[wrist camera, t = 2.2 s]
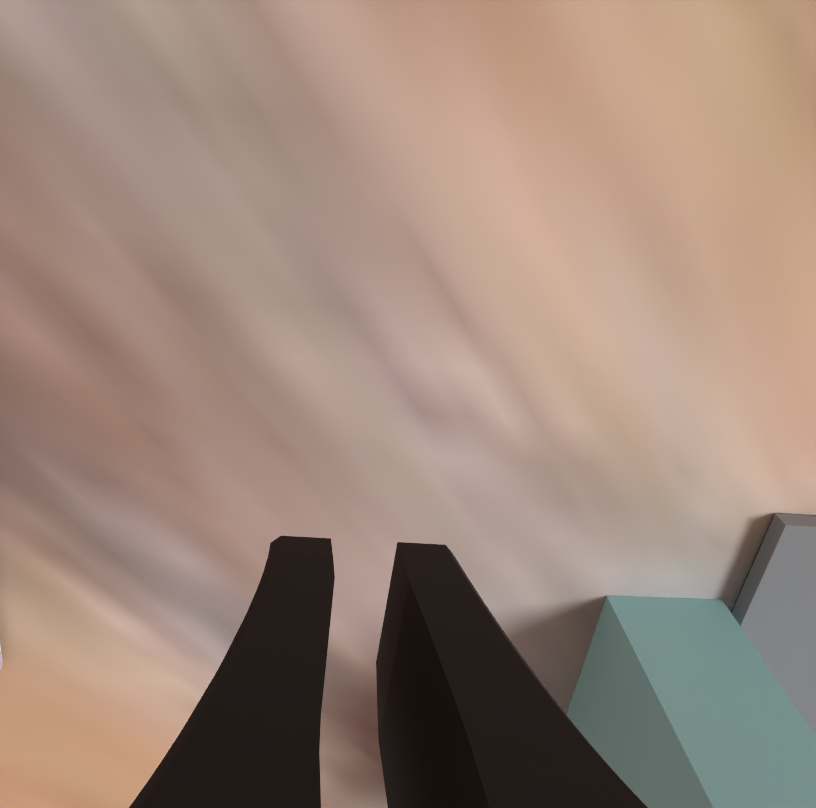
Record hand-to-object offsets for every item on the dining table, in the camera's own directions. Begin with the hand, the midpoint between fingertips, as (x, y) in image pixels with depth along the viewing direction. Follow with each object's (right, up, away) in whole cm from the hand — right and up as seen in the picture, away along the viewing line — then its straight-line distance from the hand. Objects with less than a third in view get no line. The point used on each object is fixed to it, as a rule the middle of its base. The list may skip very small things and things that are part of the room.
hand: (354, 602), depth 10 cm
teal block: (+8, -7, +17) cm, 20 cm away
